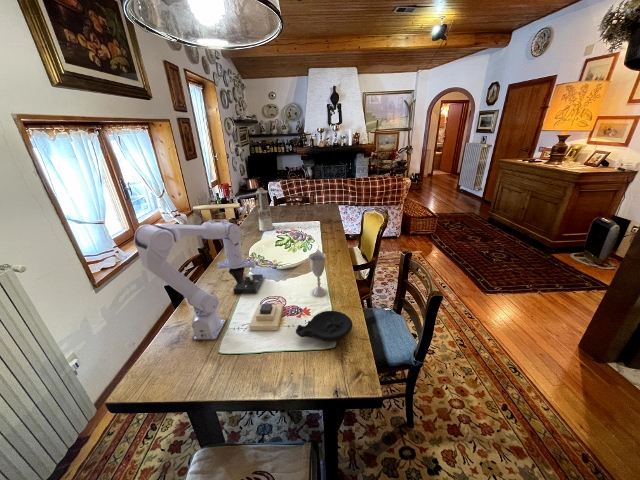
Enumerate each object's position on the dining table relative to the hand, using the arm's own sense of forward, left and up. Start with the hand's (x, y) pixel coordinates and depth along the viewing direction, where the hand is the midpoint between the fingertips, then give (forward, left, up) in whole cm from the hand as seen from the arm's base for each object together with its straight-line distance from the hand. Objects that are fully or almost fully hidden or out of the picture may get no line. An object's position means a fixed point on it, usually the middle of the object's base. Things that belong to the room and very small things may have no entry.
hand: (240, 283), depth 101 cm
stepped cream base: (-9, -12, -10) cm, 18 cm away
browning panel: (+13, +2, -10) cm, 17 cm away
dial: (+13, +2, -8) cm, 15 cm away
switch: (-9, -12, -7) cm, 16 cm away
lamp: (+85, +12, -11) cm, 87 cm away
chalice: (+7, -31, -11) cm, 34 cm away
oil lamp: (-17, -34, -11) cm, 39 cm away
